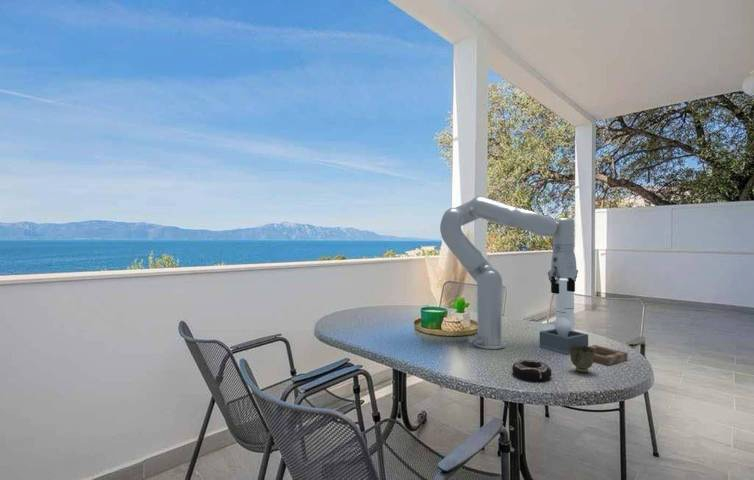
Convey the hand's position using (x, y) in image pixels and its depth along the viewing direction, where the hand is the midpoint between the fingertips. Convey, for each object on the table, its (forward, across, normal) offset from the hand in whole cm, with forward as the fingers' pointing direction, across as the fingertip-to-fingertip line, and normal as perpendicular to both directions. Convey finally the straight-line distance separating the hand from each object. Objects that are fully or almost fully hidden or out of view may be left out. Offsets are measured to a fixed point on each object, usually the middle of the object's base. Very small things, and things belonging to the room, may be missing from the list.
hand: (563, 292), depth 155 cm
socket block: (+22, 0, -15) cm, 27 cm away
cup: (+22, -19, -20) cm, 36 cm away
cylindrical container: (+22, +18, +12) cm, 31 cm away
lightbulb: (+21, 0, 0) cm, 21 cm away
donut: (+23, -36, -14) cm, 45 cm away
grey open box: (+22, 0, 0) cm, 22 cm away
